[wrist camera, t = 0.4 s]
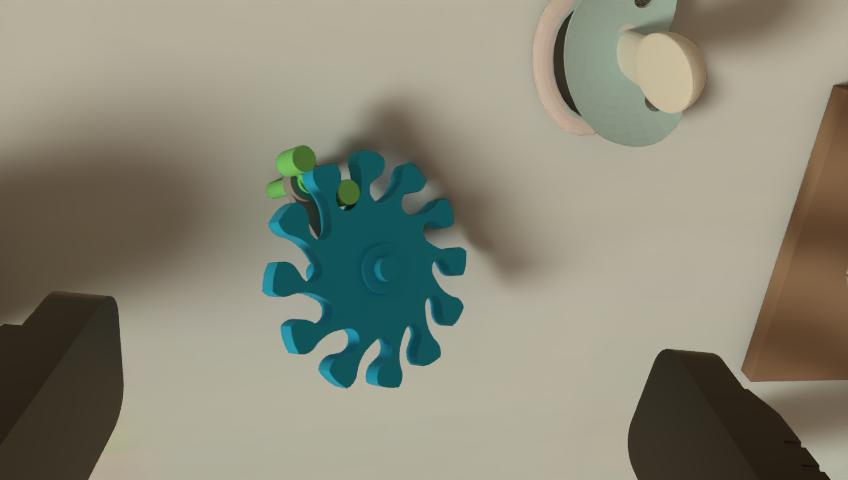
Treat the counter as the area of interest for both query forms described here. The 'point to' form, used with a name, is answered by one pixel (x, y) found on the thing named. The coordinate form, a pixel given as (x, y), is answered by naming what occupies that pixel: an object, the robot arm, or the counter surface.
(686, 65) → the pacifier
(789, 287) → the ring board
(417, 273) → the gear
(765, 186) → the counter surface
